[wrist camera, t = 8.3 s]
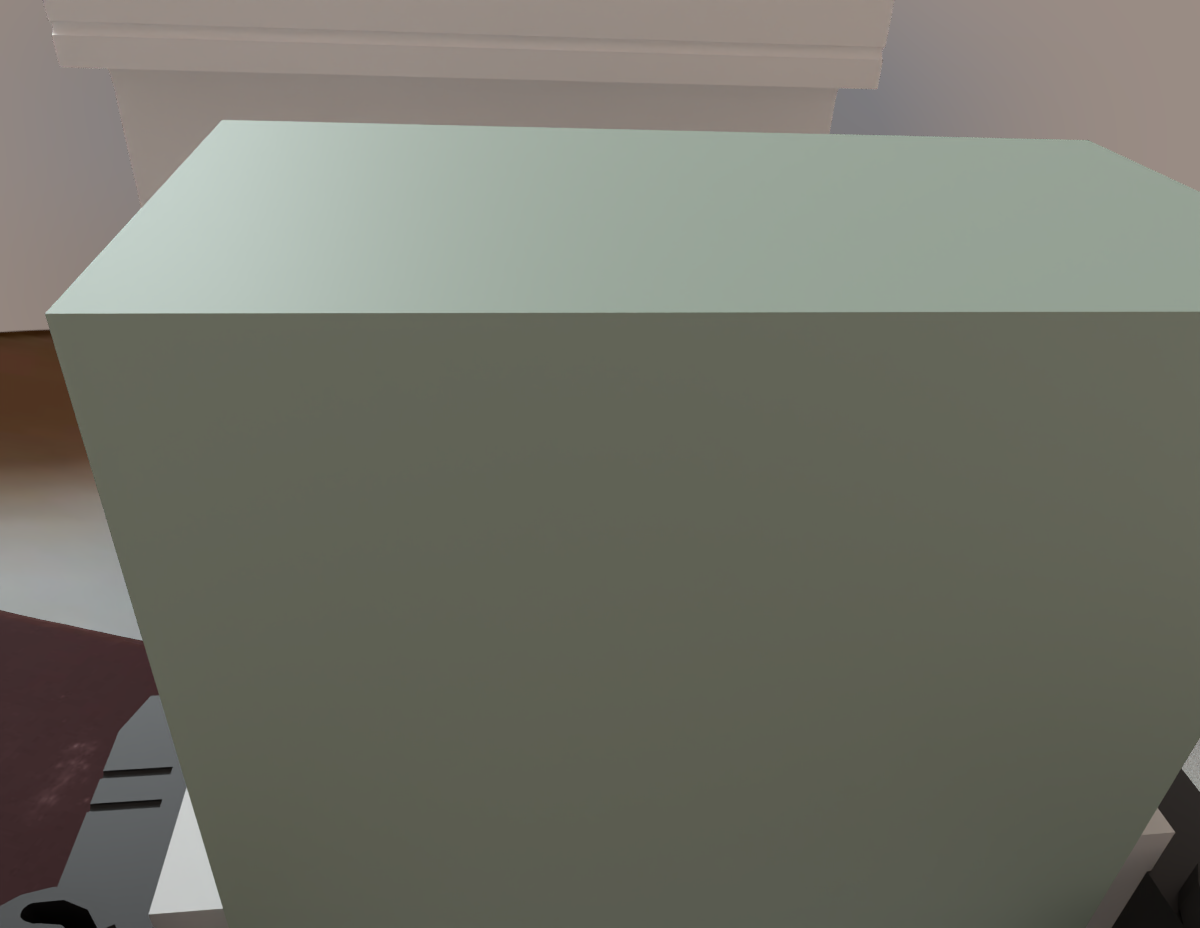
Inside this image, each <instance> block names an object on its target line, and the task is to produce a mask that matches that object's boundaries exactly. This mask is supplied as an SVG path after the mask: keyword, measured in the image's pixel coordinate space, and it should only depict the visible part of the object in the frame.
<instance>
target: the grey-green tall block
mask: <svg viewBox="0 0 1200 928" xmlns="http://www.w3.org/2000/svg"><path fill="white" fill-rule="evenodd" d="M45 315H46V318H47V321H48V325H49V328H50V332H51V335H52V338H53V342H54V345H55V348H56V352H57V355H58V359H59V362H60V365H61V369H62V372H63V375H64V379H65V382H66V385H67V389H68V392H69V395H70V399H71V402H72V405H73V409H74V412H75V415H76V419H77V422H78V425H79V429H80V432H81V435H82V439H83V442H84V445H85V449H86V452H87V456H88V459H89V462H90V466H91V469H92V472H93V476H94V479H95V482H96V486H97V489H98V492H99V496H100V499H101V502H102V506H103V509H104V512H105V516H106V519H107V522H108V526H109V529H110V532H111V536H112V539H113V542H114V546H115V549H116V552H117V556H118V559H119V563H120V566H121V569H122V573H123V576H124V579H125V583H126V586H127V589H128V593H129V596H130V599H131V603H132V606H133V609H134V613H135V616H136V619H137V623H138V626H139V629H140V633H141V636H142V639H143V643H144V646H145V649H146V653H147V656H148V659H149V663H150V666H151V670H152V673H153V676H154V680H155V683H156V686H157V690H158V693H159V696H160V700H161V703H162V706H163V710H164V713H165V716H166V720H167V723H168V726H169V730H170V733H171V736H172V740H173V743H174V746H175V750H176V753H177V756H178V760H179V763H180V766H181V770H182V773H183V777H184V780H185V783H186V787H187V790H188V793H189V797H190V800H191V803H192V807H193V810H194V813H195V817H196V820H197V823H198V827H199V830H200V833H201V837H202V840H203V843H204V847H205V850H206V853H207V857H208V860H209V863H210V867H211V870H212V873H213V877H214V880H215V884H216V887H217V890H218V894H219V897H220V900H221V904H222V907H223V910H224V914H225V917H226V920H227V924H228V927H229V928H1086V926H1087V925H1088V923H1089V921H1090V920H1091V918H1092V916H1093V915H1094V913H1095V911H1096V910H1097V908H1098V906H1099V905H1100V903H1101V901H1102V900H1103V898H1104V896H1105V895H1106V893H1107V891H1108V890H1109V888H1110V886H1111V885H1112V883H1113V881H1114V880H1115V878H1116V876H1117V875H1118V873H1119V871H1120V870H1121V868H1122V866H1123V865H1124V863H1125V861H1126V860H1127V858H1128V856H1129V855H1130V853H1131V851H1132V850H1133V848H1134V846H1135V845H1136V843H1137V841H1138V840H1139V838H1140V836H1141V835H1142V833H1143V831H1144V830H1145V828H1146V826H1147V825H1148V823H1149V821H1150V820H1151V818H1152V816H1153V815H1154V813H1155V811H1156V810H1157V808H1158V806H1159V805H1160V803H1161V801H1162V800H1163V798H1164V796H1165V795H1166V793H1167V791H1168V790H1169V788H1170V786H1171V785H1172V783H1173V781H1174V780H1175V778H1176V776H1177V775H1178V773H1179V771H1180V770H1181V768H1182V766H1183V765H1184V763H1185V761H1186V760H1187V758H1188V756H1189V755H1190V753H1191V751H1192V750H1193V748H1194V746H1195V745H1196V743H1197V741H1198V740H1199V738H1200V192H1199V191H1196V190H1194V189H1192V188H1190V187H1188V186H1186V185H1184V184H1181V183H1179V182H1177V181H1175V180H1173V179H1171V178H1169V177H1166V176H1164V175H1162V174H1160V173H1158V172H1156V171H1153V170H1151V169H1149V168H1147V167H1145V166H1143V165H1141V164H1138V163H1136V162H1134V161H1132V160H1130V159H1128V158H1126V157H1123V156H1121V155H1119V154H1117V153H1115V152H1113V151H1110V150H1108V149H1106V148H1104V147H1102V146H1100V145H1097V144H1095V143H1093V142H1091V141H1089V140H1053V139H1010V138H969V137H968V138H967V137H925V136H883V135H841V134H839V135H838V134H800V133H757V132H715V131H673V130H631V129H588V128H546V127H504V126H461V125H419V124H377V123H335V122H292V121H250V120H222V121H221V122H220V123H219V124H218V125H217V126H216V127H215V128H214V129H213V130H212V132H211V133H210V134H209V135H208V136H207V137H206V138H205V139H204V140H203V141H202V142H201V144H200V145H199V146H198V147H197V148H196V149H195V150H194V151H193V152H192V153H191V154H190V156H189V157H188V158H187V159H186V160H185V161H184V162H183V163H182V164H181V165H180V167H179V168H178V169H177V170H176V171H175V172H174V173H173V174H172V175H171V176H170V177H169V179H168V180H167V181H166V182H165V183H164V184H163V185H162V186H161V187H160V188H159V190H158V191H157V192H156V193H155V194H154V195H153V196H152V197H151V198H150V199H149V200H148V202H147V203H146V204H145V205H144V206H143V207H142V208H141V209H140V210H139V211H138V212H137V214H136V215H135V216H134V217H133V218H132V219H131V220H130V221H129V222H128V223H127V225H126V226H125V227H124V228H123V229H122V230H121V231H120V232H119V233H118V235H116V237H115V238H114V239H113V240H112V241H111V242H110V243H109V244H108V245H107V247H106V248H105V249H104V250H103V251H102V252H101V253H100V254H99V255H98V256H97V257H96V259H95V260H94V261H93V262H92V263H91V264H90V265H89V266H88V267H87V268H86V269H85V270H84V272H83V273H82V274H81V275H80V276H79V277H78V278H77V279H76V280H75V282H74V283H73V284H72V285H71V286H70V287H69V288H68V289H67V290H66V291H65V292H64V293H63V295H62V296H61V297H60V298H59V299H58V300H57V301H56V302H55V303H54V304H53V306H52V307H51V308H50V309H49V310H48V311H47V312H46V313H45Z"/></svg>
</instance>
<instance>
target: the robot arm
mask: <svg viewBox="0 0 1200 928" xmlns="http://www.w3.org/2000/svg"><path fill="white" fill-rule="evenodd" d="M0 928H229V927H228V924H227V920H226V917H225V914H224V910H223V907H222V904H221V900H220V897H219V894H218V890H217V887H216V884H215V880H214V877H213V873H212V870H211V867H210V863H209V860H208V857H207V853H206V850H205V847H204V843H203V840H202V837H201V833H200V830H199V827H198V823H197V820H196V817H195V813H194V810H193V807H192V803H191V800H190V797H189V793H188V790H187V787H186V783H185V780H184V777H183V773H182V770H181V766H180V763H179V760H178V756H177V753H176V750H175V746H174V743H173V740H172V736H171V733H170V730H169V726H168V723H167V720H166V716H165V713H164V710H163V706H162V703H161V700H160V696H159V695H157V696H150V697H149V698H148V700H147V701H146V702H145V703H144V704H143V705H142V706H141V707H140V708H139V709H138V711H137V712H136V713H135V714H134V715H133V716H132V717H131V718H130V719H129V720H128V722H127V723H126V724H125V725H124V726H123V727H122V728H121V729H120V730H119V732H118V735H117V737H116V740H115V742H114V745H113V747H112V750H111V752H110V755H109V757H108V760H107V762H106V765H105V767H104V770H103V778H102V779H100V780H99V783H98V785H97V788H96V790H95V793H94V795H93V798H92V800H91V803H90V811H89V812H87V813H86V815H85V818H84V820H83V823H82V825H81V828H80V830H79V833H78V836H77V838H76V841H75V843H74V846H73V848H72V851H71V853H70V856H69V858H68V861H67V863H66V866H65V868H64V871H63V873H62V876H61V878H60V881H59V884H58V886H57V887H51V888H47V889H43V890H39V891H35V892H31V893H26V894H22V895H20V896H18V897H16V898H14V899H12V900H10V901H8V902H7V903H5V904H3V905H1V906H0ZM1086 928H1200V792H1199V791H1198V789H1197V788H1196V787H1195V785H1194V784H1193V783H1192V782H1191V780H1190V779H1189V778H1188V776H1187V775H1186V774H1185V773H1184V771H1183V770H1182V769H1181V770H1180V771H1179V773H1178V775H1177V776H1176V778H1175V780H1174V781H1173V783H1172V785H1171V786H1170V788H1169V790H1168V791H1167V793H1166V795H1165V796H1164V798H1163V800H1162V801H1161V803H1160V805H1159V806H1158V808H1157V810H1156V811H1155V813H1154V815H1153V816H1152V818H1151V820H1150V821H1149V823H1148V825H1147V826H1146V828H1145V830H1144V831H1143V833H1142V835H1141V836H1140V838H1139V840H1138V841H1137V843H1136V845H1135V846H1134V848H1133V850H1132V851H1131V853H1130V855H1129V856H1128V858H1127V860H1126V861H1125V863H1124V865H1123V866H1122V868H1121V870H1120V871H1119V873H1118V875H1117V876H1116V878H1115V880H1114V881H1113V883H1112V885H1111V886H1110V888H1109V890H1108V891H1107V893H1106V895H1105V896H1104V898H1103V900H1102V901H1101V903H1100V905H1099V906H1098V908H1097V910H1096V911H1095V913H1094V915H1093V916H1092V918H1091V920H1090V921H1089V923H1088V925H1087V926H1086Z"/></svg>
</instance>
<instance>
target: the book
mask: <svg viewBox="0 0 1200 928" xmlns="http://www.w3.org/2000/svg"><path fill="white" fill-rule="evenodd" d="M157 695H159V693H158V690H157V686H156V683H155V680H154V676H153V673H152V670H151V666H150V663H149V659H148V656H147V653H146V649H145V646H144V643H143V641H141V640H136V639H131V638H126V637H121V636H116V635H112V634H107V633H103V632H98V631H93V630H88V629H83V628H79V627H74V626H70V625H66V624H60V623H55V622H50V621H45V620H40V619H36V618H32V617H27V616H23V615H18V614H14V613H10V612H5V611H1V610H0V906H1V905H3V904H5V903H7V902H8V901H10V900H12V899H14V898H16V897H18V896H20V895H22V894H26V893H31V892H35V891H39V890H43V889H47V888H51V887H57V886H58V884H59V881H60V878H61V876H62V873H63V871H64V868H65V866H66V863H67V861H68V858H69V856H70V853H71V851H72V848H73V846H74V843H75V841H76V838H77V836H78V833H79V830H80V828H81V825H82V823H83V820H84V818H85V815H86V813H87V812H89V811H90V803H91V800H92V798H93V795H94V793H95V790H96V788H97V785H98V783H99V780H100V779H102V778H103V770H104V767H105V765H106V762H107V760H108V757H109V755H110V752H111V750H112V747H113V745H114V742H115V740H116V737H117V735H118V732H119V730H120V729H121V728H122V727H123V726H124V725H125V724H126V723H127V722H128V720H129V719H130V718H131V717H132V716H133V715H134V714H135V713H136V712H137V711H138V709H139V708H140V707H141V706H142V705H143V704H144V703H145V702H146V701H147V700H148V698H149V697H150V696H157Z"/></svg>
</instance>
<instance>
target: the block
mask: <svg viewBox="0 0 1200 928" xmlns="http://www.w3.org/2000/svg"><path fill="white" fill-rule="evenodd" d="M43 3H44V7H45V11H46V15H47V19H48V21H50V22H51V24H52V28H53V34H52V38H53V43H54V47H55V50H56V55H57V59H58V62H59V66H60V67H69V68H105V69H108V70H109V73H110V76H111V79H112V83H113V87H114V91H115V95H116V100H117V104H118V108H119V113H120V117H121V122H122V126H123V131H124V135H125V139H126V144H127V148H128V153H129V157H130V161H131V166H132V170H133V175H134V179H135V183H136V188H137V192H138V197H139V201H140V205H141V208H142V207H143V206H144V205H145V204H146V203H147V202H148V200H149V199H150V198H151V197H152V196H153V195H154V194H155V193H156V192H157V191H158V190H159V188H160V187H161V186H162V185H163V184H164V183H165V182H166V181H167V180H168V179H169V177H170V176H171V175H172V174H173V173H174V172H175V171H176V170H177V169H178V168H179V167H180V165H181V164H182V163H183V162H184V161H185V160H186V159H187V158H188V157H189V156H190V154H191V153H192V152H193V151H194V150H195V149H196V148H197V147H198V146H199V145H200V144H201V142H202V141H203V140H204V139H205V138H206V137H207V136H208V135H209V134H210V133H211V132H212V130H213V129H214V128H215V127H216V126H217V125H218V124H219V123H220V122H221V121H222V120H250V121H292V122H335V123H377V124H419V125H461V126H504V127H546V128H588V129H631V130H673V131H715V132H757V133H800V134H830V128H831V122H832V116H833V110H834V105H835V99H836V95H837V92H838V89H839V88H854V89H855V88H856V89H877V88H878V83H879V77H880V72H881V67H882V62H883V60H882V50H883V48H884V47H885V46H886V41H887V36H888V31H889V26H890V20H891V15H892V10H893V5H894V0H43Z"/></svg>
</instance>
